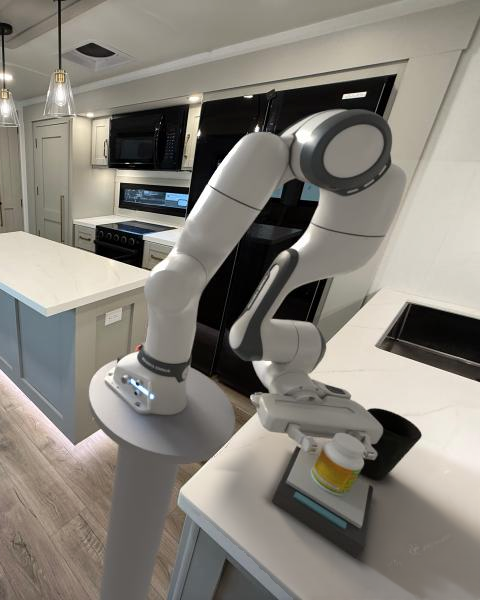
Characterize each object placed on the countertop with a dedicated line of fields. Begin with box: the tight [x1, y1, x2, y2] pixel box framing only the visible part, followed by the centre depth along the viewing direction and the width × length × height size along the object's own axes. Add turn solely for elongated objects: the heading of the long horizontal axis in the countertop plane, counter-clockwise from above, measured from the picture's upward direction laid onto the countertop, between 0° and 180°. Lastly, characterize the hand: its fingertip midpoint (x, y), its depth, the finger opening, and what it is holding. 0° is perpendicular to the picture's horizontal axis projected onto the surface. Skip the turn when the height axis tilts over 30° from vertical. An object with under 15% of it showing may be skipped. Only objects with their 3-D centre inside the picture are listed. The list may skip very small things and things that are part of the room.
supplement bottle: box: [311, 433, 365, 496], centre depth 53 cm, size 5×5×10 cm
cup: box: [359, 407, 423, 481], centre depth 60 cm, size 8×8×12 cm
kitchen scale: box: [270, 445, 374, 559], centre depth 55 cm, size 12×14×4 cm
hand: (341, 453), depth 52 cm, fingers open, 8 cm apart
